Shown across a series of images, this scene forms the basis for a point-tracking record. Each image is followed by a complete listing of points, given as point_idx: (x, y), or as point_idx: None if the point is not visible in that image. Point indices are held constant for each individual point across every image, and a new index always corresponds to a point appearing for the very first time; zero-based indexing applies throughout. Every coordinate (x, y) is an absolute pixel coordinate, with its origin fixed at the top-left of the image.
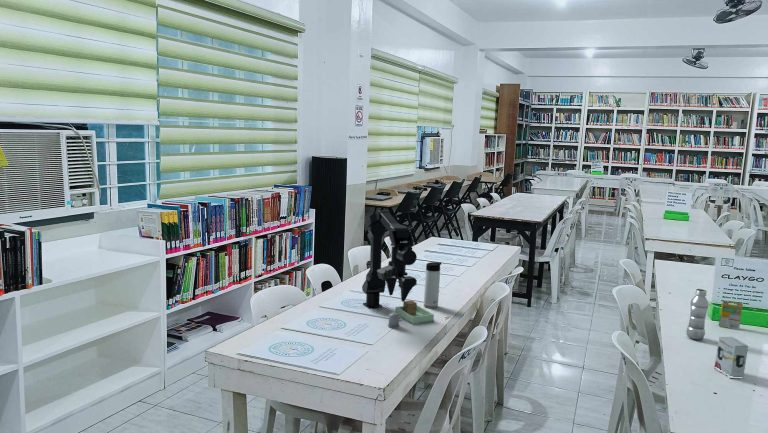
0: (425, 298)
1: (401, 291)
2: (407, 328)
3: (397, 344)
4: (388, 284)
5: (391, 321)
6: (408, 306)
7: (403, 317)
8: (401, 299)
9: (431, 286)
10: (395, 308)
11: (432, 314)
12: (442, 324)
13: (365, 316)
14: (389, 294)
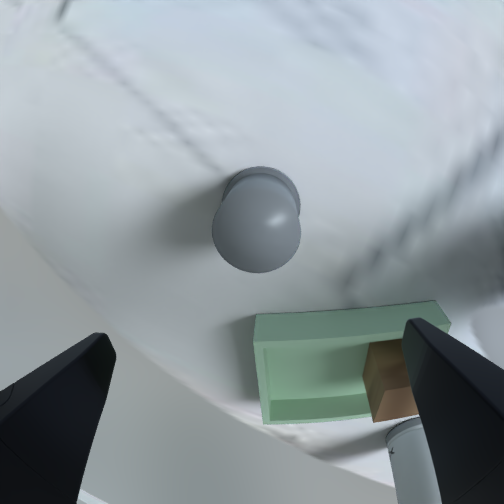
0: (424, 444)
1: (2, 407)
2: (206, 265)
3: (30, 130)
4: (501, 423)
5: (236, 186)
6: (381, 379)
7: (355, 313)
8: (89, 343)
9: (411, 497)
10: (446, 317)
11: (264, 421)
12: (223, 407)
13: (470, 125)
14: (421, 318)
